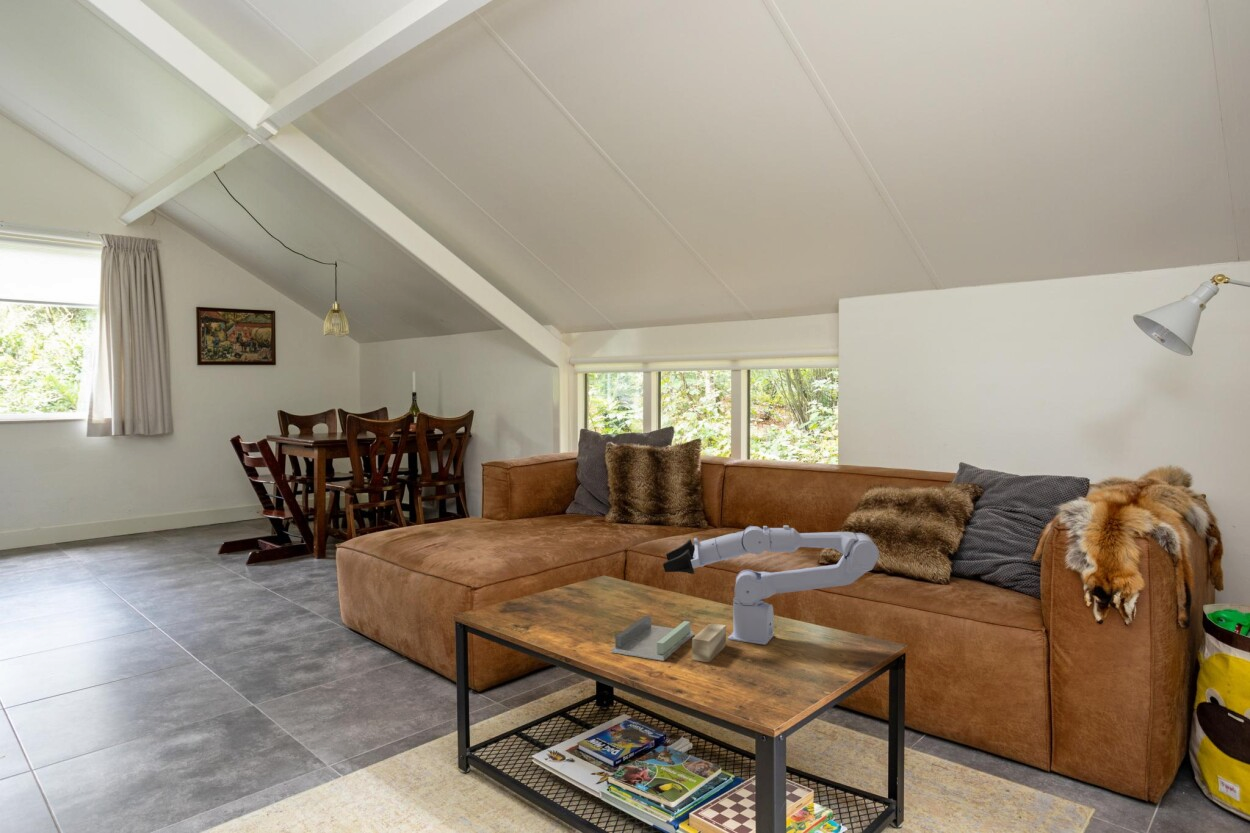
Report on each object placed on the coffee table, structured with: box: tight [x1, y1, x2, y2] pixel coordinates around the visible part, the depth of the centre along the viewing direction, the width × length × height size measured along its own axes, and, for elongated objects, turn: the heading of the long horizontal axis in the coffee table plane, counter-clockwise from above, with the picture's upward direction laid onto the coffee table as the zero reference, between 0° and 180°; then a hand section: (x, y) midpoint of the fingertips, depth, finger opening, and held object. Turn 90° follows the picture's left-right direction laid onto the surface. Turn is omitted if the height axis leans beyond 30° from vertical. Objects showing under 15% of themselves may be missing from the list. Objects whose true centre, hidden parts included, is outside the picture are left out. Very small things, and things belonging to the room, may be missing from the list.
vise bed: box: [611, 615, 695, 662], centre depth 178 cm, size 13×19×4 cm
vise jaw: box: [657, 620, 691, 654], centre depth 176 cm, size 2×17×2 cm, turn 154°
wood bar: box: [691, 623, 727, 663], centre depth 172 cm, size 4×12×5 cm, turn 154°
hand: (665, 562), depth 185 cm, fingers open, 7 cm apart
